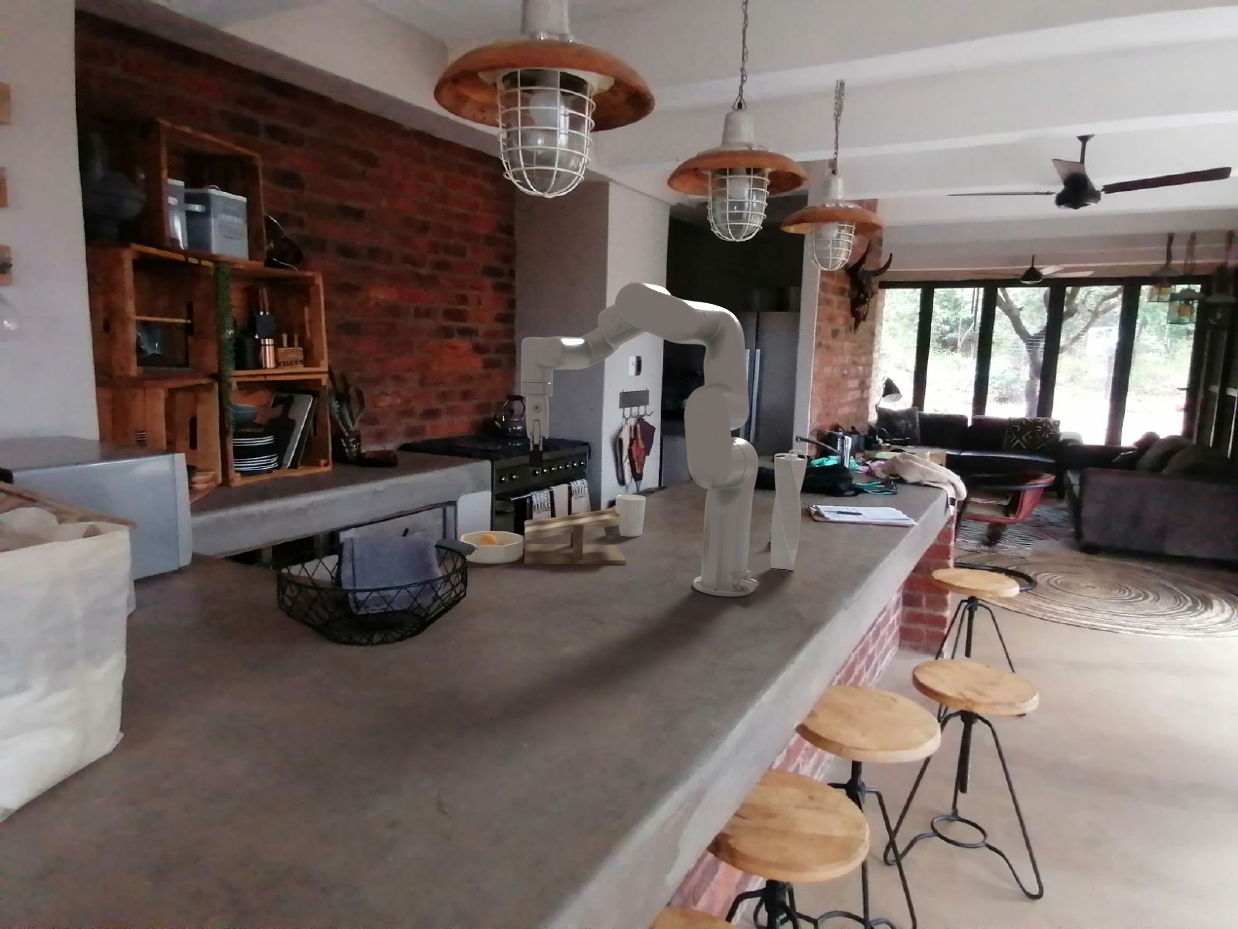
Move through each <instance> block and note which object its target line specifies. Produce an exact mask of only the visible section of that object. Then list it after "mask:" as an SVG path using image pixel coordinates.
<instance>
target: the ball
mask: <svg viewBox="0 0 1238 929" xmlns="http://www.w3.org/2000/svg"><path fill="white" fill-rule="evenodd" d="M480 545H497V539H496V537H495V536H494V535H492V534H485V535H483V536H482V537H481V539H480Z"/></svg>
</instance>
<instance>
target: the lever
mask: <svg viewBox="0 0 1238 929" xmlns="http://www.w3.org/2000/svg"><path fill="white" fill-rule="evenodd" d="M612 507H613V508H609V509H608V508H607V509H602V510H596V511H588V512H583V513H580V514H576V515H571V514H570V515H564V516H559V517H557V516H556V517H551V518H546V519H545V518H544V519H542V517H539V518H533V519H528V520H524V531H523V532H524V538H525V541H528V540H529V541H530V540H537V539H543V538H548V537H553V536H554V537H555V536H560V535H566V534H570V533H573V532H574V523H580V524H583V532H584V531H590V530H597V529H603V530H604V534H605V536H606V538H607V540H609V539H615V538H620V537H622V536H621V535H620V529H619V525H621V519H620V513H619V511H618V510H617V508H616V505H613V506H612Z"/></svg>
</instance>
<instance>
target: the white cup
mask: <svg viewBox="0 0 1238 929" xmlns="http://www.w3.org/2000/svg"><path fill="white" fill-rule="evenodd" d="M646 498H647V497H646V496H645V495H644V496H643V495H640V494H630V493H629V494H618V495H615V506H616V508H617V510H618V511H619V513H620V519H621V525H619V529H620V536H621V537H626V538H627V537H629V538H630V537H632V538H635V537H641V536H642V535H643V526H644V521H645V520H644V519H645V510H646V509H645V508H646Z"/></svg>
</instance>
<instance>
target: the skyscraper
mask: <svg viewBox="0 0 1238 929" xmlns="http://www.w3.org/2000/svg"><path fill="white" fill-rule="evenodd" d="M793 452H797V453H801V454H802V455H803V456H804V458H800V457H798V456H799V455H798V454H796V453H795V454H794V453H793ZM778 456H779V457H778ZM773 459H774V460H773V461H774V462H773V463H774V483H775V496H774V497H775V498H774V502H773V509H772V517H771V528H770V529H771V531H770V537H771V539H770V569H771V568H780V569H790V570H794V571H795V568H794V567H795V563H796V558H797V552H798V547H799V542H800V541H799V540H800V535H801V534H800V533H801V532H800V531H801V522H802V521H801V520H802V508H801V507H802V505H801V496H800V495H801V490H802V487H803V484H804V483H803V482H804V480H805V474H806V470H807V465H808V464H807V463H808V457H807V455H806V452H805V451H803V450H801V449H797V448H793V449H790V450H789V451H788V453H786V452H785V453H784V452H783V453H782V452H780V453H775V454H774V457H773Z"/></svg>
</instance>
